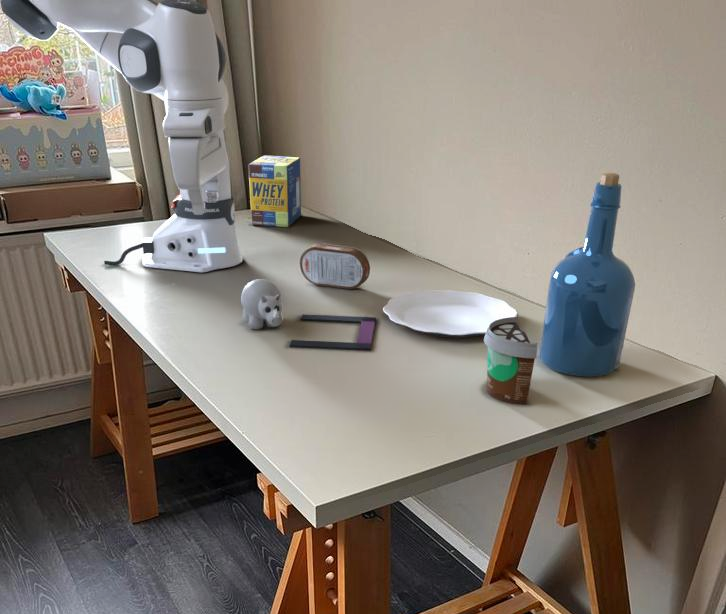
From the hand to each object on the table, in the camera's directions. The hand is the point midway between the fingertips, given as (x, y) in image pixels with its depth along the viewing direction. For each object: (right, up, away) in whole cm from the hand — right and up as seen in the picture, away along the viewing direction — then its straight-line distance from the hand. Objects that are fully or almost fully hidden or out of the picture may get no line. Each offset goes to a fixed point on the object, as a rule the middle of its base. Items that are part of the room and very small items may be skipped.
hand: (206, 207), depth 132 cm
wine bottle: (+63, -27, -1) cm, 68 cm away
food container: (+48, -33, -12) cm, 59 cm away
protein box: (+3, +26, +83) cm, 87 cm away
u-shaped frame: (+21, -20, +9) cm, 30 cm away
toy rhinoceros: (+9, -19, +10) cm, 23 cm away
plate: (+43, -16, +16) cm, 49 cm away
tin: (+20, -5, +33) cm, 39 cm away
